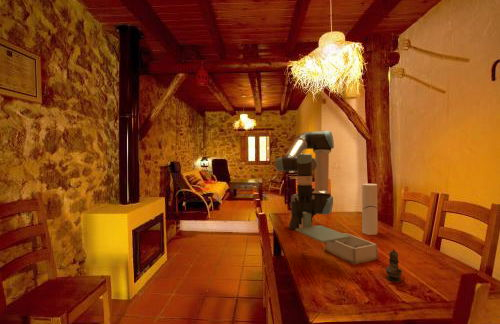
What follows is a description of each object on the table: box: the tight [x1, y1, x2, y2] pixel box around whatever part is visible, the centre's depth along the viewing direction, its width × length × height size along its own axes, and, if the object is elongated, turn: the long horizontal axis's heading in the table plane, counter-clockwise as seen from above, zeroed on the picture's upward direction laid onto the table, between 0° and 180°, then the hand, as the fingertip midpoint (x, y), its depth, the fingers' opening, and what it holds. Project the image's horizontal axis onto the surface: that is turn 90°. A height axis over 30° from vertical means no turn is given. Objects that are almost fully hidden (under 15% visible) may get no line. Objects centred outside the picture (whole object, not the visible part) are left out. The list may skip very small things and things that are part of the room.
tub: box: [324, 232, 378, 265], centre depth 132 cm, size 20×14×7 cm
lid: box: [294, 212, 350, 244], centre depth 127 cm, size 26×15×9 cm, turn 22°
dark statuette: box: [385, 248, 403, 283], centre depth 106 cm, size 6×6×12 cm
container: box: [361, 183, 379, 236], centre depth 166 cm, size 9×9×30 cm
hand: (305, 229), depth 137 cm, fingers closed on lid, 4 cm apart
